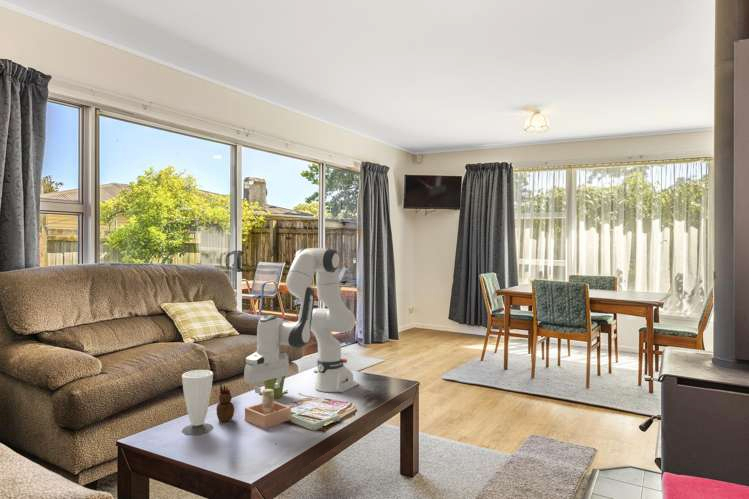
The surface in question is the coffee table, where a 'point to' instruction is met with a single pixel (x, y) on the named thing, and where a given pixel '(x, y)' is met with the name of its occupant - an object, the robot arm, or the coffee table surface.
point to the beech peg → (267, 401)
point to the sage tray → (313, 425)
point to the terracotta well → (267, 415)
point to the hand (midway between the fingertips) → (267, 390)
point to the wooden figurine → (225, 405)
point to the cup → (197, 400)
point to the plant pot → (270, 385)
